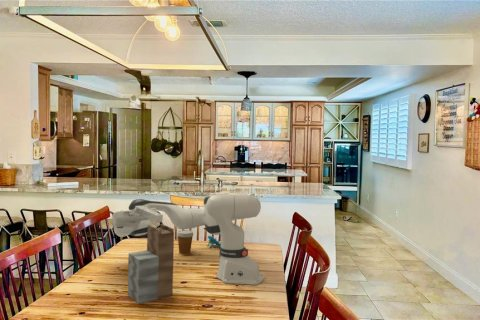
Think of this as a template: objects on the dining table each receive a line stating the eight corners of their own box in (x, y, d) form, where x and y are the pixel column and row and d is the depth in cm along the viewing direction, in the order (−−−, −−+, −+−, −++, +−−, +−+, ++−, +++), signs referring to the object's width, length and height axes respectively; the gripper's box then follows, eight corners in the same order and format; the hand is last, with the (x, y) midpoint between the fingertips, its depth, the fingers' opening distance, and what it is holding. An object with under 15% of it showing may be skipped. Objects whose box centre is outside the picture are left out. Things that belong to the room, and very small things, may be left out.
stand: (127, 294, 149) (129, 227, 148) (160, 286, 158) (161, 223, 157) (138, 303, 141) (140, 233, 140) (172, 295, 150) (174, 228, 149)
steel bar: (134, 212, 168) (135, 206, 168) (141, 211, 170) (141, 205, 170) (155, 222, 151) (156, 215, 151) (162, 221, 153) (162, 214, 153)
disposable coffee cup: (172, 252, 209) (173, 232, 209) (184, 249, 217) (184, 229, 216) (185, 256, 204) (185, 234, 203) (196, 252, 211) (197, 231, 211)
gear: (224, 246, 221) (214, 235, 218) (219, 253, 218) (208, 243, 215) (216, 244, 230) (205, 233, 227) (210, 251, 228) (199, 241, 225)
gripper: (152, 223, 181) (163, 213, 172) (110, 228, 169) (120, 218, 159) (149, 211, 184) (160, 201, 174) (108, 215, 171) (118, 204, 161)
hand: (141, 209), depth 166 cm, fingers closed on steel bar, 3 cm apart
